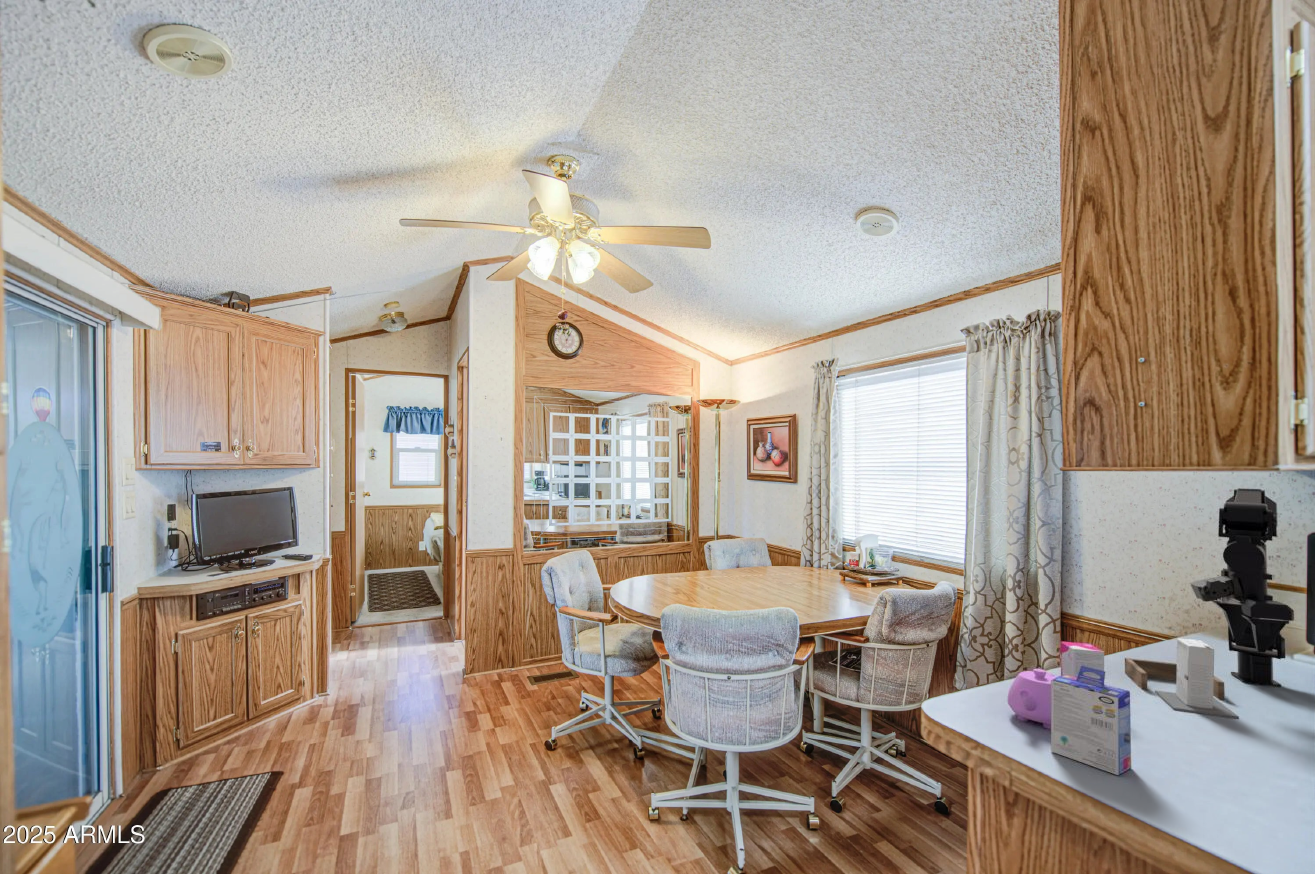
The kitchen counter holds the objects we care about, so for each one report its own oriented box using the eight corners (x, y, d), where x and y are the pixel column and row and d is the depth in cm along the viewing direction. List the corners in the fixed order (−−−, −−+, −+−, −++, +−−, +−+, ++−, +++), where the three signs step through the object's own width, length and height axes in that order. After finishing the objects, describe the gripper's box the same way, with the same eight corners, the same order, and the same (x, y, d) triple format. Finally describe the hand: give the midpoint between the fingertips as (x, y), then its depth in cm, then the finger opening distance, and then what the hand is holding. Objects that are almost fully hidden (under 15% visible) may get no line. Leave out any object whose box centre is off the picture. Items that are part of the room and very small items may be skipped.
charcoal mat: (1154, 692, 129) (1154, 690, 129) (1214, 699, 125) (1214, 697, 125) (1173, 709, 120) (1173, 707, 120) (1238, 718, 116) (1238, 716, 116)
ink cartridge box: (1133, 767, 97) (1132, 675, 97) (1121, 777, 93) (1119, 682, 94) (1063, 743, 105) (1062, 658, 105) (1050, 752, 101) (1048, 664, 102)
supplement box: (1106, 709, 120) (1105, 651, 120) (1072, 707, 121) (1071, 648, 121) (1091, 698, 125) (1090, 642, 126) (1059, 696, 126) (1058, 640, 127)
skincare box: (1175, 695, 126) (1174, 636, 127) (1202, 699, 125) (1201, 639, 125) (1187, 706, 121) (1186, 645, 121) (1216, 710, 119) (1215, 647, 119)
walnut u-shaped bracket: (1124, 672, 141) (1124, 657, 141) (1201, 682, 136) (1200, 666, 136) (1141, 688, 131) (1141, 672, 131) (1224, 699, 126) (1224, 682, 126)
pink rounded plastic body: (1084, 720, 115) (1083, 670, 115) (1055, 742, 105) (1054, 688, 106) (1023, 702, 123) (1023, 656, 123) (992, 721, 113) (991, 671, 114)
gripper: (1177, 556, 133) (1178, 628, 132) (1217, 570, 116) (1219, 653, 115) (1242, 560, 129) (1244, 634, 128) (1294, 575, 111) (1296, 661, 111)
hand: (1248, 645), depth 121 cm, fingers open, 9 cm apart
